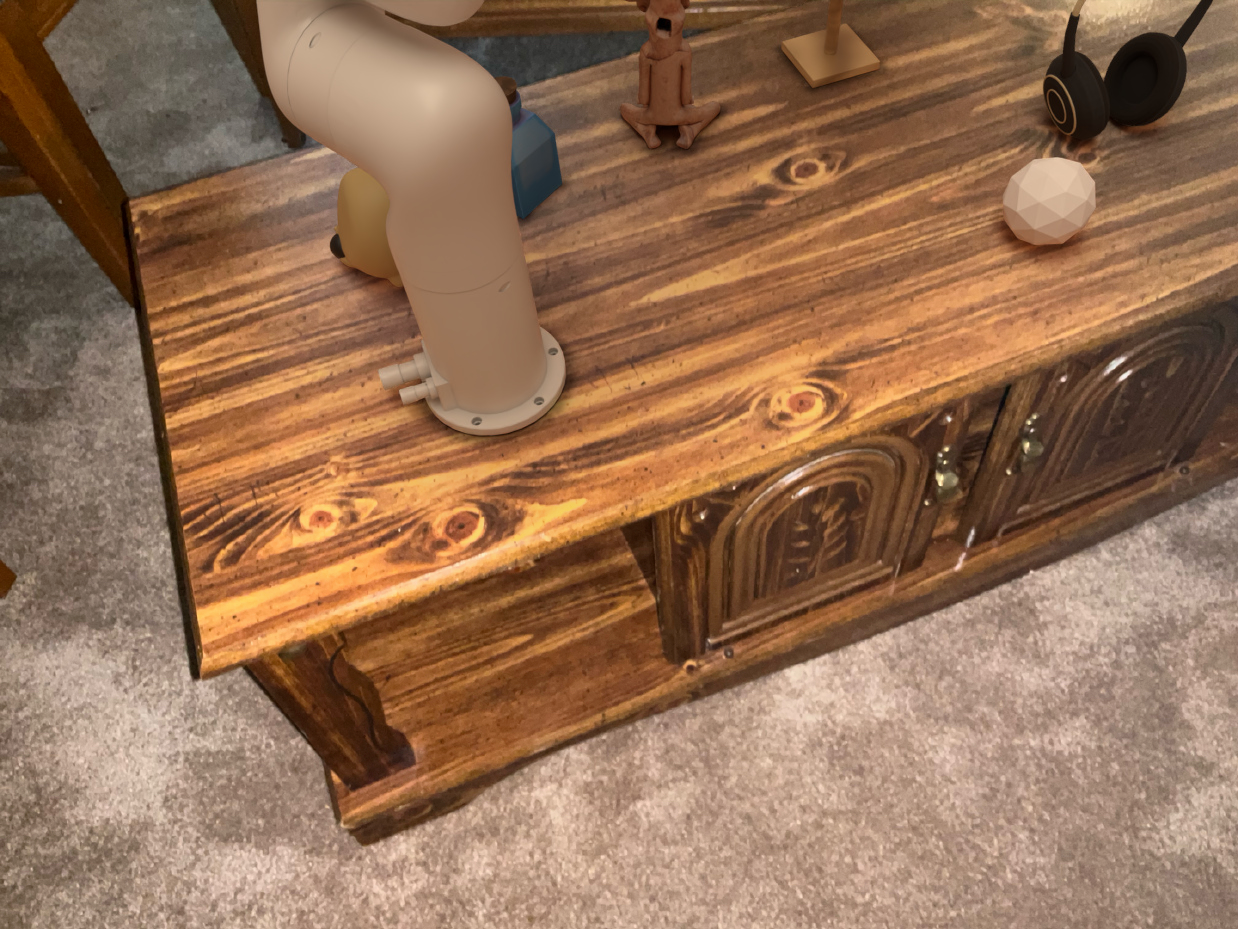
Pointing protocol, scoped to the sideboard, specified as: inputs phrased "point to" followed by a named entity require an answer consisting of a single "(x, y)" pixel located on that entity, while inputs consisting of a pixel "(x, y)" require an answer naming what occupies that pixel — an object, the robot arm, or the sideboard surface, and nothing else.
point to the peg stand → (830, 52)
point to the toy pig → (364, 227)
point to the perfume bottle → (530, 154)
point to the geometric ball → (1049, 200)
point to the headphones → (1118, 80)
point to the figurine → (666, 77)
